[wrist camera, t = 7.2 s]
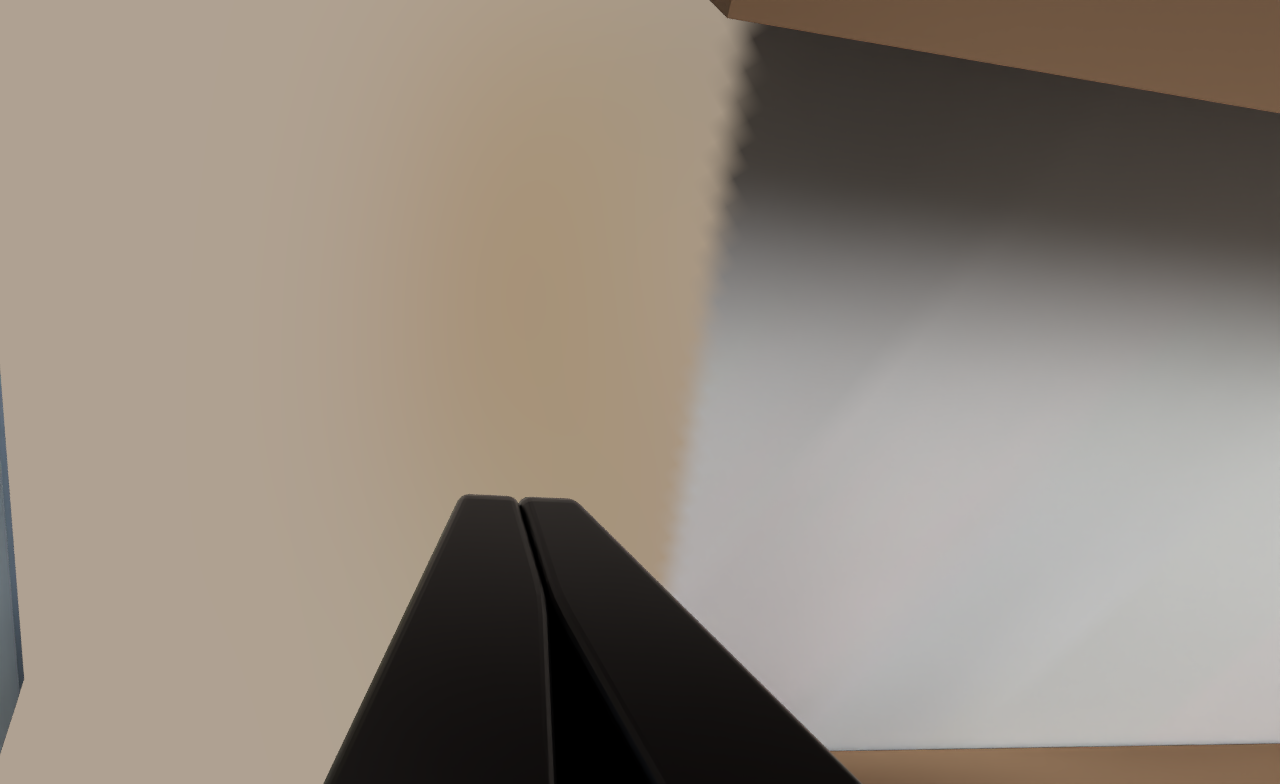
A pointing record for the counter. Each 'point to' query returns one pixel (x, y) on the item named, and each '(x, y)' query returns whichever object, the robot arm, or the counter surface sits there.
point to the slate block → (8, 600)
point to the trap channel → (1108, 53)
